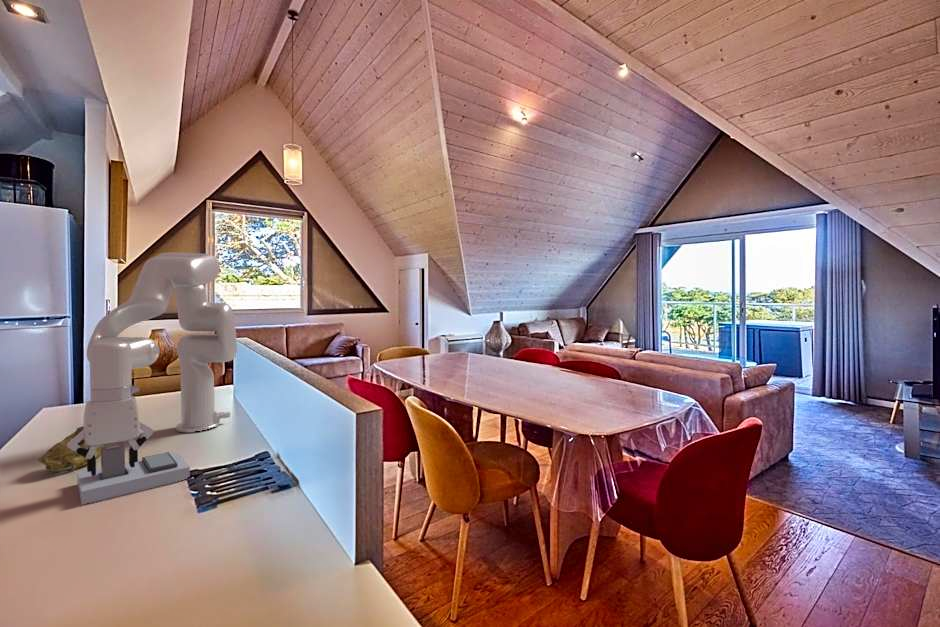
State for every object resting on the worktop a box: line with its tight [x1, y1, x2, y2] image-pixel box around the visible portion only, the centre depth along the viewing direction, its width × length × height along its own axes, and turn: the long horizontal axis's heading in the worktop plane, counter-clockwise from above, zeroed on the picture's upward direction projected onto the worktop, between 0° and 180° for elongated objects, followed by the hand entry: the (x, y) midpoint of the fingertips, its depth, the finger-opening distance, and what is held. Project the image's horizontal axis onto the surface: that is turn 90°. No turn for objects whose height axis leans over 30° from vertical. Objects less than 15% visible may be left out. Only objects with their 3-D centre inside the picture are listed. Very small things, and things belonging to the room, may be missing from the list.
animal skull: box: [38, 425, 108, 472], centre depth 116 cm, size 9×16×10 cm, turn 163°
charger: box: [100, 443, 126, 480], centre depth 104 cm, size 4×4×9 cm
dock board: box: [76, 451, 191, 506], centre depth 107 cm, size 20×14×4 cm
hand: (113, 469), depth 104 cm, fingers open, 6 cm apart
